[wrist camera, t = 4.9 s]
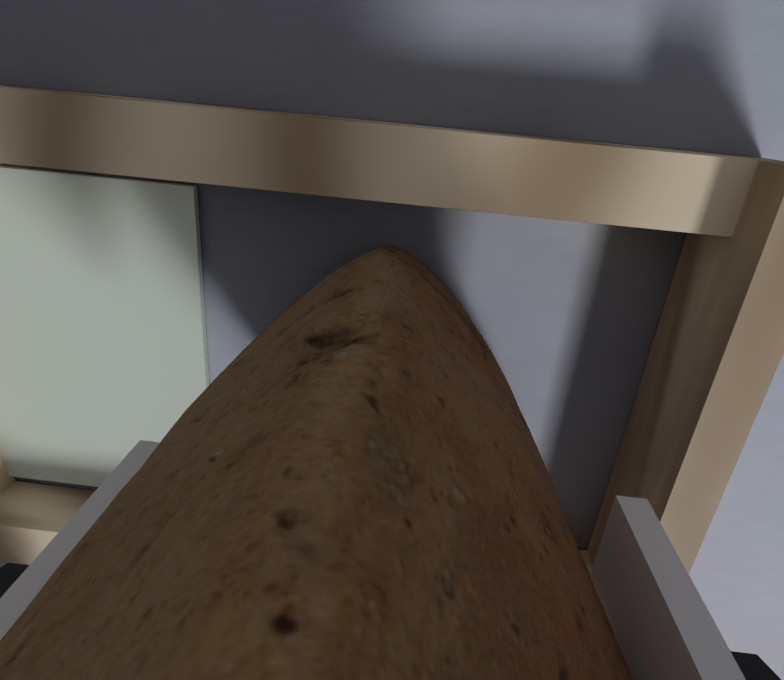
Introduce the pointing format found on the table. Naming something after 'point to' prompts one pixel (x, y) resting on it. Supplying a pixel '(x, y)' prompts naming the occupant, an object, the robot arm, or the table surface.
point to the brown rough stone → (333, 518)
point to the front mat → (95, 319)
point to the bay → (493, 195)
